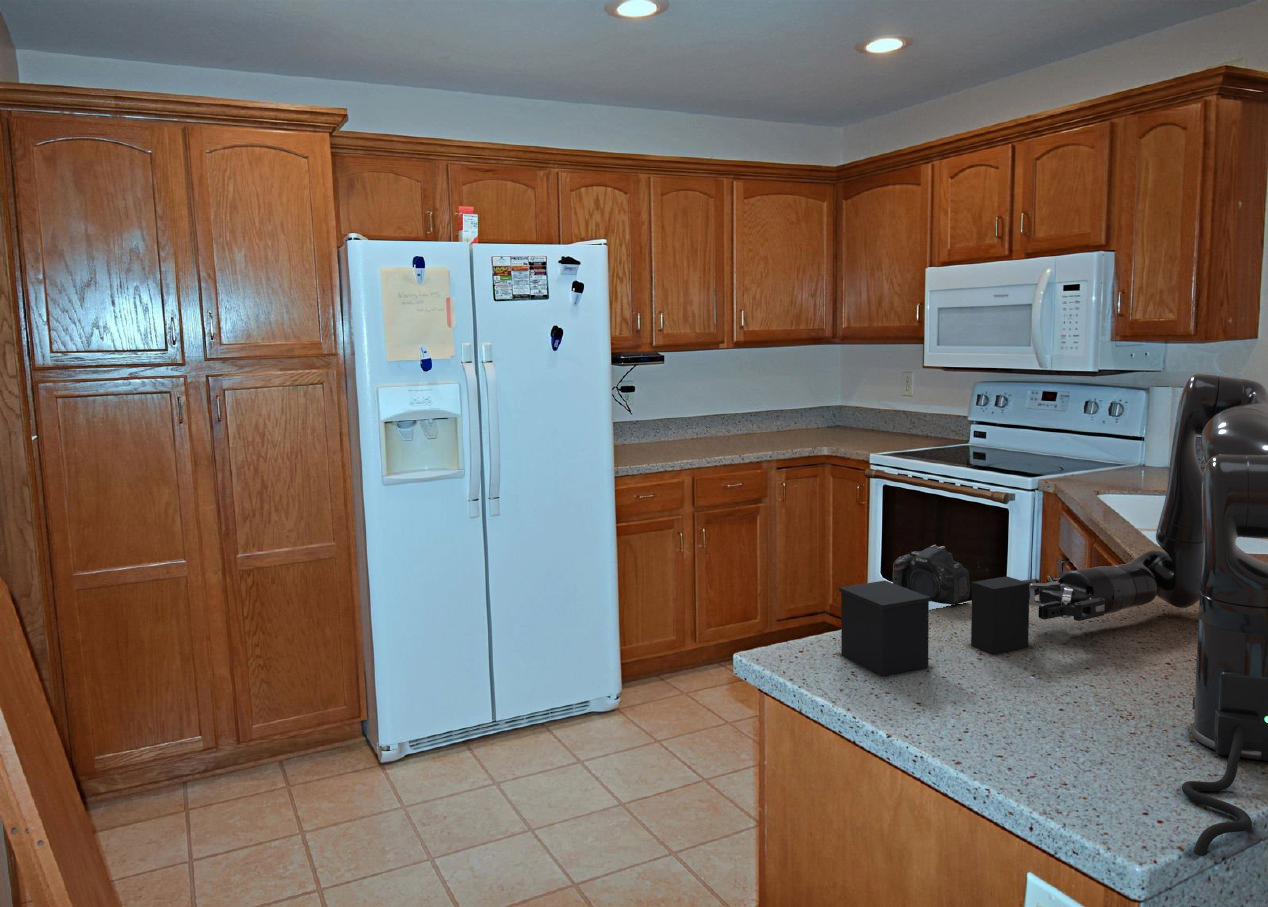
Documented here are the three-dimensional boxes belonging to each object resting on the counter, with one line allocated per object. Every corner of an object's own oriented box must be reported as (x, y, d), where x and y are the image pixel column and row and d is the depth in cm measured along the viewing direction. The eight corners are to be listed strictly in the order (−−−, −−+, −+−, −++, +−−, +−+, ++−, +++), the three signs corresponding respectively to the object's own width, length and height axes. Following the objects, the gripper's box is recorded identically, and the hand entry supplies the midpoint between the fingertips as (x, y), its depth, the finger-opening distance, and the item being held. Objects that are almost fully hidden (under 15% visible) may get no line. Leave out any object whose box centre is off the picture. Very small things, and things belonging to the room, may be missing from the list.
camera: (886, 603, 159) (886, 549, 158) (897, 589, 168) (898, 537, 166) (965, 611, 153) (965, 555, 152) (972, 596, 161) (973, 542, 160)
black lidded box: (930, 667, 128) (931, 597, 126) (882, 677, 125) (882, 605, 123) (884, 645, 137) (885, 580, 136) (839, 654, 134) (839, 587, 133)
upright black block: (1028, 647, 135) (1029, 583, 133) (992, 654, 132) (993, 589, 131) (1006, 638, 139) (1007, 576, 138) (970, 645, 136) (971, 582, 135)
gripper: (1060, 559, 148) (984, 570, 142) (1136, 578, 135) (1056, 592, 129) (1059, 602, 149) (984, 616, 143) (1135, 626, 136) (1055, 642, 130)
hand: (1018, 605), depth 136 cm, fingers open, 8 cm apart
